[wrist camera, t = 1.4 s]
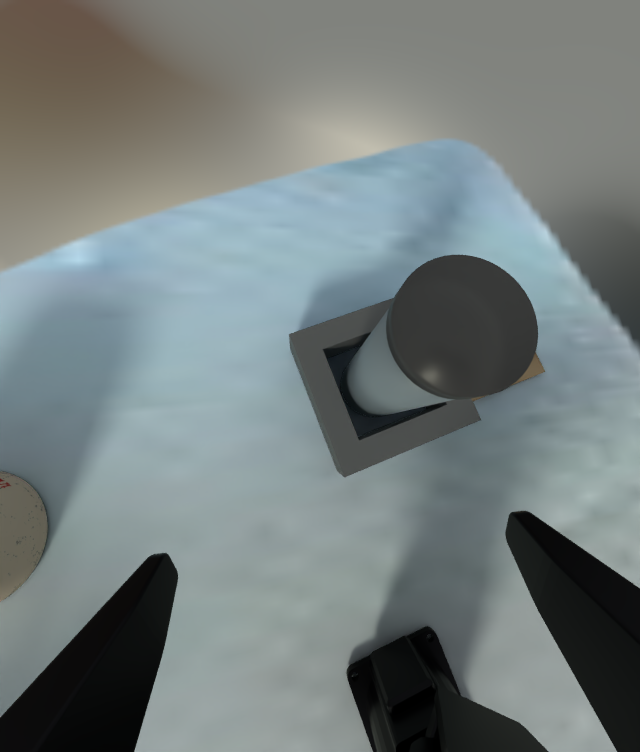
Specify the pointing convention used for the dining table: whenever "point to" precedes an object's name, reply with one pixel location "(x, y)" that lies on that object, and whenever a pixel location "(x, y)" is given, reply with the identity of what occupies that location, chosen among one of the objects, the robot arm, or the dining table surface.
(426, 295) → the ball
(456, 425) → the frame
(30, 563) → the teacup with lid
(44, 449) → the dining table surface
